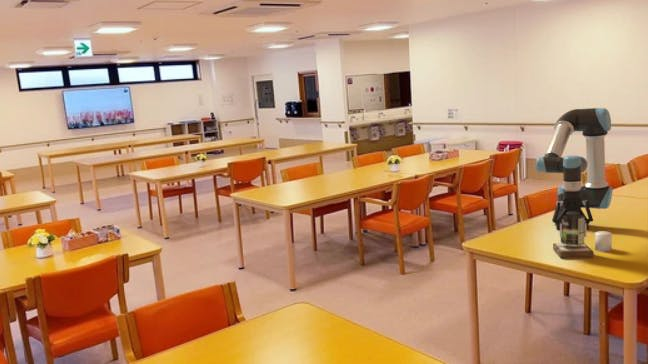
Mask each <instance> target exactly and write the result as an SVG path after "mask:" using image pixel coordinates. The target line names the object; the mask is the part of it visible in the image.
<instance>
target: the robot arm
mask: <svg viewBox="0 0 648 364" xmlns="http://www.w3.org/2000/svg"><path fill="white" fill-rule="evenodd" d="M553 129H554V130H553V134H552V137H551V139H550V141H549V143H548V146H547V148H546V151H545V153H544V156H539V157H537V158H536V162H535V169H536V171H537V172H538V173H543V174H544V173H545V174H562V175H563V179H562V182H563V184H561V185H559V186H558V188H557V201H555V209H554V212H553V216H552V219H551V220H552V221H551V222H552V223H554V226H555V227H556V229H555V230H556V231H558V237H559V238H560V239H561V238H562V224H561V221H562V215H565V214H566V213H567V212H568V211H575V212H579V213H580V214H581V215H583V214H585V213H584V211H583V210H582V209H585V212H586V215H587V216H586V215H585V216H584V238H587V230H589V227H590V225H589V224H590V223H591V222H593V221H594V219H593V215H592V212H591V209H598V210H602V209H603V210H605V209H609V207H610V206H611V203H612V197H613V187H611V186H610V183H609V182H608V181H606V157H605V152H606V151H605V148H606V147H605V138H606V136H607V135H608V134H609V133H608V132H610V131H611V129H612V120H611V114H610V111H609V110H608V109H607V108H603V107H602V108H601V107H593V108H589V107H588V108H574V109H571V110H569V111H567V112H565V113H564V114H563V115H561V116H560V117H559V118H558V119H557V120H556V122H555V124H554V126H553ZM574 132H582V136H583V137H584V138H585V146H586V147H585V148H586V149H585V150H586V154H585V155H586V157H584V156H580V155H566V156H564V157H562V156H563V153H564V150H565V149H566V146H567V143H568V141H569V138H570V136H571V135H572V134H573V133H574ZM585 171H586V174H587V175H586V176H587V177H586V178H587V180H586V182H584V184H583V185H584V186H583V185H582V173H584V172H585ZM560 214H561V215H560Z"/></svg>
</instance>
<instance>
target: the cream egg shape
mask: <svg viewBox="0 0 648 364" xmlns="http://www.w3.org/2000/svg"><path fill="white" fill-rule="evenodd" d="M612 237H613V234H612V231H611V232H610V231H605V230H604V231H603V230H600V231H595V232H594V250H595V251H597V252H604V253H609V252H611V251H612V250H613V248H612V247H613V239H612Z"/></svg>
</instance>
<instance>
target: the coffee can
mask: <svg viewBox="0 0 648 364" xmlns="http://www.w3.org/2000/svg"><path fill="white" fill-rule="evenodd" d="M560 215H561V214H560ZM584 216H586V214H585V213H584V214H583V215H581V214H580V213H579V212H575V211H568V212H567V213H566V214H565V215H562V221H561V224H562V238H560V243H561V244H563V245H566V246H582V245H584V244H586V243H585V237H584V222H585V221H584Z"/></svg>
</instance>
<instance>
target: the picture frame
mask: <svg viewBox="0 0 648 364" xmlns="http://www.w3.org/2000/svg"><path fill="white" fill-rule="evenodd" d="M552 250H553V251H554V252H555V254H556V255H557V256H558V257H559V258H560V260H561V259H594V250H593V249H591V247H590V246H588V245H587V244H586V243H585V244H584V245H582V246H566V245H563V244H561V242H559V243H552Z"/></svg>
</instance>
